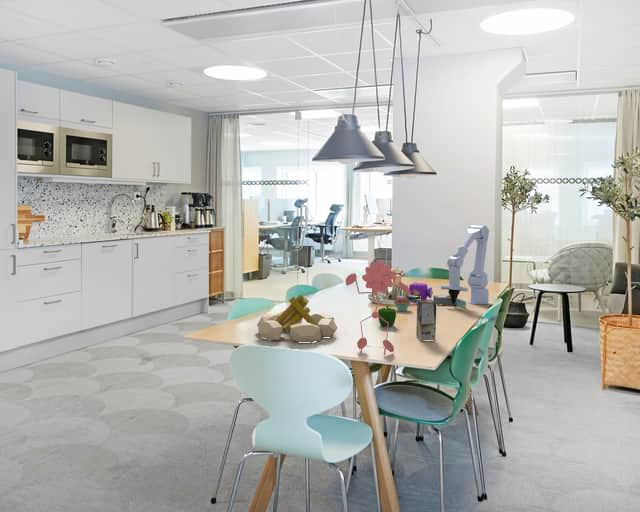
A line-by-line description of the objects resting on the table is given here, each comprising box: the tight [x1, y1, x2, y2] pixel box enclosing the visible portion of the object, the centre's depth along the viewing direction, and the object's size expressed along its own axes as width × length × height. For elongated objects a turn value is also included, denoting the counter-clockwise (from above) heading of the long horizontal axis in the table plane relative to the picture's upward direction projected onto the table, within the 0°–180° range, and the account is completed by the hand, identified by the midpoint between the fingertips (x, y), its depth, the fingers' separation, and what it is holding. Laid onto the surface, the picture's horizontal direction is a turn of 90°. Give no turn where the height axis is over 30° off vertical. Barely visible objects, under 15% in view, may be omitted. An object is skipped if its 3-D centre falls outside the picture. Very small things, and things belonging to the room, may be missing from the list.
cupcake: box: [393, 292, 412, 312], centre depth 314 cm, size 9×8×12 cm
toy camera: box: [408, 281, 434, 300], centre depth 347 cm, size 11×14×10 cm
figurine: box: [344, 260, 410, 356], centre depth 228 cm, size 15×26×35 cm, turn 69°
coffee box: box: [415, 299, 437, 341], centre depth 250 cm, size 9×6×16 cm
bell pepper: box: [377, 303, 397, 327], centre depth 275 cm, size 8×8×10 cm
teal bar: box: [455, 297, 467, 309], centre depth 326 cm, size 10×2×4 cm, turn 15°
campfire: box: [256, 294, 338, 343], centre depth 256 cm, size 35×34×17 cm
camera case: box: [432, 295, 457, 306], centre depth 335 cm, size 11×8×4 cm
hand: (453, 303), depth 326 cm, fingers closed
